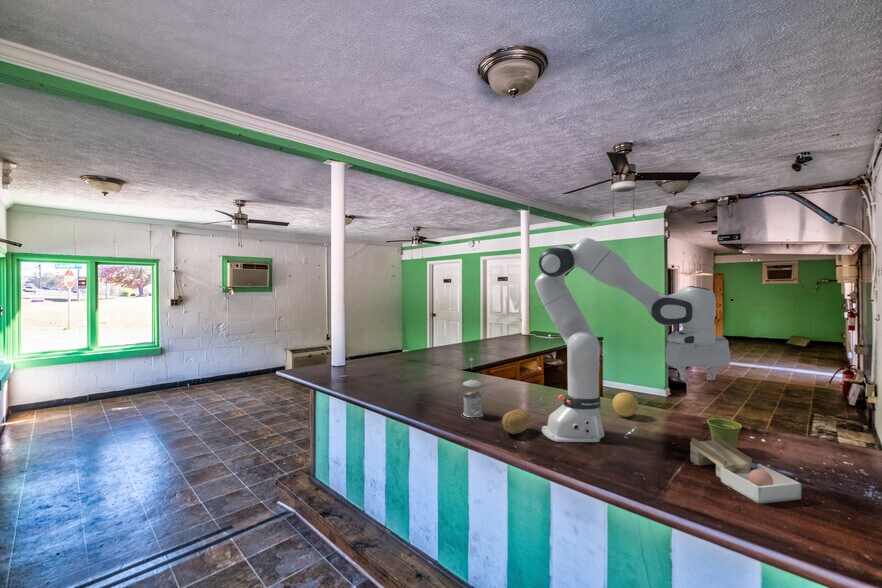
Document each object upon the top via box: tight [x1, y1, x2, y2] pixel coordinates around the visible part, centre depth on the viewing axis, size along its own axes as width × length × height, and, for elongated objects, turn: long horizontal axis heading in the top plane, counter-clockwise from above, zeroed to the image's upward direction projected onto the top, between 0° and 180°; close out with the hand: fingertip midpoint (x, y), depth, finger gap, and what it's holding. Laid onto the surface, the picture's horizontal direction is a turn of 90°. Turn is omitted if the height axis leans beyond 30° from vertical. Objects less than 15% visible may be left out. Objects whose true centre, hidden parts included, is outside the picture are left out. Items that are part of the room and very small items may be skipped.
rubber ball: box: [749, 468, 773, 486], centre depth 102 cm, size 5×5×5 cm
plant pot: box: [706, 418, 743, 449], centre depth 128 cm, size 9×9×9 cm
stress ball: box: [612, 391, 640, 418], centre depth 163 cm, size 10×10×10 cm
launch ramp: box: [689, 436, 753, 479], centre depth 115 cm, size 9×12×7 cm
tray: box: [720, 463, 802, 505], centre depth 103 cm, size 12×11×4 cm
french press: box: [462, 357, 484, 418], centre depth 169 cm, size 10×12×25 cm
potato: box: [501, 408, 531, 435], centre depth 147 cm, size 10×14×8 cm
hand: (697, 379), depth 124 cm, fingers open, 8 cm apart
